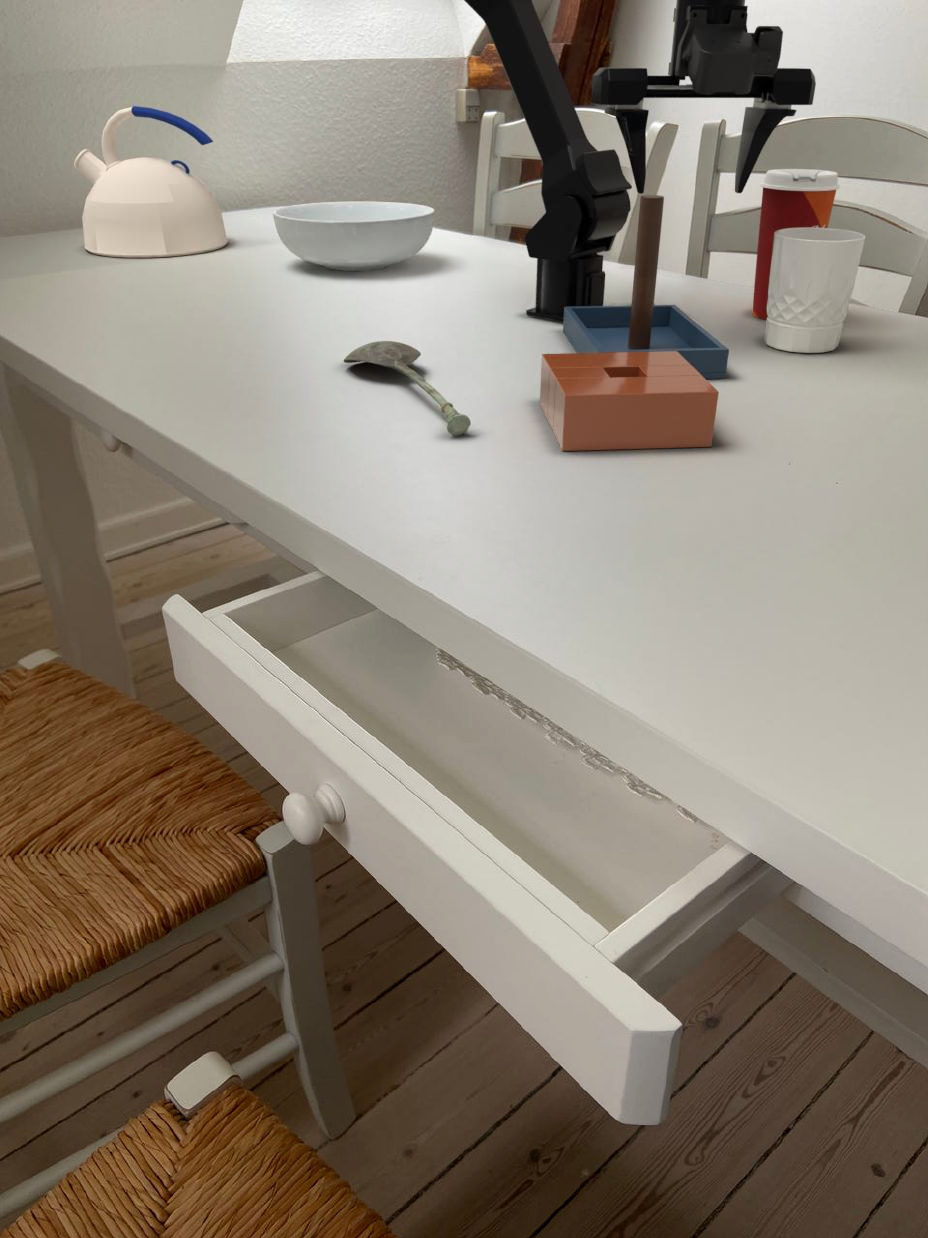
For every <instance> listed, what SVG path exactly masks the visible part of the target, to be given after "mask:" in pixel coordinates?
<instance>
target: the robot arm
mask: <svg viewBox="0 0 928 1238" xmlns="http://www.w3.org/2000/svg"><path fill="white" fill-rule="evenodd" d="M463 1H464V2H465V3H466V4H467V5H468V6H469V7H470V8H471V9H472V11H474V12H475V13H476V14H477V15H478V16H479V17H480V18H481V19H482V21H483V22H484V24H485V26H486V28H487V30H488V33H489V36H490V38H491V41H492V42H493V46H494V47H495V50H496V52H497V56H498V57H499V59H500V62H501V64H502V67H503V70H504V73H505V74H506V77H507V79H508V82H509V84H510V86H511V89H512V92H513V94H514V96H515V99H516V101H517V104H518V106H519V108H520V111H521V113H522V115H523V118H524V120H525V123H526V125H527V128H528V130H529V133H530V135H531V137H532V140H533V143H534V145H535V148H536V151H537V152H538V155H539V157H540V160H541V164H542V168H541V169H542V172H541V192H540V195H541V200H542V203H543V207H544V211H545V213H544V214H543V215H542V216H541V217H540V218H539V219H538V221H537V222H536V223H535V224H534V225H533V226H532V227H531V228H530V230H529V231H528V232H527V233H526V234H525V236H524V242H525V245H526V251H527V254H528V257H529V258H531V259H536V279H535V280H536V281H535V283H536V284H535V307H532V308H529V309H528V308H527V309H526V310H525V314H526V316H530V317H536V318H541V319H546V320H552V321H556V322H561V323H564V307H574V306H604V302H605V301H604V300H605V287H606V271H605V270H604V269H603V267H604V255H603V254H600V253H603V252H604V253H605V252H606V253H607V252H610V251H611V250H612V247H613V244H614V241H615V239H616V236H617V234H618V233H619V232H621V230H622V229H623V228H624V226H625V224H626V223H627V221H628V217H629V213H630V212H631V209H632V205H631V199H630V195H629V192H628V191H627V190H632V188H633V185H632V184H631V183H630V182H629V181H628V180H627V179H626V176H625V175H624V172H623V169H622V166H621V161H620V157H619V155H618V153H617V151H616V149H613V148H612V149H603V150H598V149H597V148H595V146H594V145H593V144H591V142H590V141H589V139H588V137H587V135H586V132H585V129H584V128H583V126H582V123H581V120H580V117H579V115H578V113H577V110H576V107H575V105H574V103H573V100H572V98H571V96H570V93H569V90H568V87H567V86H566V83H565V80H564V78H563V75H562V73H561V71H560V67H559V65H558V62H557V61H556V57H555V56H554V53H553V50H552V48H551V46H550V43H549V40H548V38H547V36H546V33H545V30H544V29H543V25H542V23H541V21H540V19H539V15H538V13H537V10H536V8H535V5H534V3H533V0H463ZM748 8H749V7H748V5H746V0H676V3H675V8H674V9H673V17H672V23H674V25H673V35H672V44H671V56H670V62H668V70H667V75H648V74H649V73H648V68H647V67H599V68H598V69H597V70H596V71H595V72H594V74H593V76H592V79H591V93H590V94H591V95H590V103H593V104H597V105H600V106H601V105H602V106H605V107H604V114H606V115H609V116H613V117H615V120H616V122H617V125H618V127H619V130H620V133H621V137H622V138H623V141H624V145H625V147H626V151H627V155H628V159H629V164H630V167H631V171H632V175H633V180H634V183H635V188H636V192H637V193H638V194H640V195H641V194H644V193H645V186H646V177H647V125H648V118H649V112H650V111H649V109H646V108H643V106H644V99H753V103H752V106H746V107H745V108H744V115H743V121H742V128H741V134H740V142H739V148H738V154H737V161H736V167H735V174H734V175H735V177H734V192H735V193H736V194H742V193H743V191H744V189H745V187H746V185H747V183H748V181H749V179H750V176H751V175H752V172H753V170H754V168H755V166H756V164H757V162H758V159H759V157H760V155H761V153H762V151H763V149H764V147H765V145H766V143H767V142H768V140H769V138H770V137H771V135H772V133H773V132H774V130H775V129H776V128H777V127H778V126H779V124H781V122H782V121H783V120H784V119H786V118H788V117H795V115H796V113H797V109H792V106H813V103H814V98H815V93H816V85H817V82H816V77H815V74H814V72H813V70H812V69H811V68H805V67H804V68H802V67H801V68H799V67H779V64H780V60H781V55H782V46H783V45H782V44H783V38H784V37H783V36H784V31H783V29H782V28H781V26H779V25H758V26H756V28H755V29H754V32H748V24H747V23H748ZM687 77H688V78H689V80H690V82H691V84H689V83H686V84H681V83H680V82H681V81H686V78H687Z"/></svg>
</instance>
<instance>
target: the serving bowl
mask: <svg viewBox="0 0 928 1238" xmlns="http://www.w3.org/2000/svg"><path fill="white" fill-rule="evenodd" d="M435 216H436V210H435V208H433V207H431V206H427V205H424V204H423V205H422V204H416V203H409V202H408V203H407V202H395V201H393V202H392V201H359V200H358V201H328V202H327V201H326V202H312V203H302V204H293V205H288V206H283V207H279V208H276V209H275V210H274V211H273V212H272V217H273V221H274V226H275V229H276V232H277V235H278V237H279V239H280V240H281V242H282V243H283V245H284V247H285V248H286V249H287V250H288V251H289V252H290V253H292V254H293V255H294V256H295V257H296V258H297V257H298V258H299V259H301V260H303V261H306V262H309V263H312V264H315V265H320V266H322V267H323V268H326V269H329V270H334V271H348V272H350V271H351V272H359V271H360V272H362V271H374V270H380V269H385V268H388V267H390V266H391V265H392V264H396V263H399V262H402V261H405V260H407V259H409V258H412V257H414V256H415V255H416V254H418V253H419V252H420V251H421V250H422V249H423V248H424V247H425V245H426V244H427V243H428V241H429V239H430V237H431V235H432V232H433V229H434V223H435Z"/></svg>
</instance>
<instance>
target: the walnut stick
mask: <svg viewBox="0 0 928 1238" xmlns="http://www.w3.org/2000/svg"><path fill="white" fill-rule="evenodd" d="M639 198H640V199H639V210H638V212H639V213H638V225H637V234H636V248H635V257H634V258H635V259H634V269H633V270H634V271H633V280H632V281H633V282H632V294H631V304H630V305H631V316H630V328H629V340H628V348H629V349H631V350H645V349H649V348H650V339H651V328H652V318H653V308H654V305H655V295H656V287H657V286H656V285H657V275H658V265H659V254H660V244H661V233H662V223H663V212H664V204H665V203H664V202H665V196H664V195H658V194H644V195H641V196H640V197H639Z"/></svg>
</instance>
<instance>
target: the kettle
mask: <svg viewBox="0 0 928 1238" xmlns="http://www.w3.org/2000/svg"><path fill="white" fill-rule="evenodd" d="M135 117H136V118H146V119H147V118H148V119H153V120H156V121H160V122H163V123H166V124H169V125H170V126H173V127H176V128H177V129H179V130H181V131H182V132H185V133H186V134H188V135H189V136H190V137H191V138H193V139H195V140H196V141H197V142H198V143H199V145H201V146H205V145H209V144H212V143H213V142H214V140H213V138H211V137H210V136H209V135H208V134H207V133H206V132H205V131H203V130H202V129H201V128H199V127H198V126H197V125H196V124H194V123H191V122H190V121H188V120H186V119H185V118H183V117H181V116H178V115H175V114H173V113H171V112H168V111H164V110H160V109H157V108H153V107H147V106H137V105H133V106H130V107H127V108H123V109H119V110H117V111H116V112H115V113H114V114H113V115H112V116H111V117H110V118H108V119H107V122H106V124H105V126H104V128H103V130H102V135H101V142H100V143H101V151H102V157H103V159H104V161H105V163H104V162H103V161H102V160H101V159H99V158H98V157H97V156H96V155H95V154H94V153H92V152H91V149H88V148H85V149H82V150H80V152H79V153H78V154H77V156H76V157H75V159H74V161H73V166H74V169H75V170H77V171H79V173H80V174H82V176H84V178H86V179H87V180H88V181H89V182H91V184H92V185H93V186H92V187H91V189H90V191H89V193H88V194H87V196H86V198H85V203H84V208H83V212H82V215H81V216H82V217H81V218H82V219H81V220H82V229H83V230H82V231H83V242H84V247H83V248H84V249H85V250H86V251H88V253H90V254H93V255H96V256H104V257H111V258H126V259H146V258H147V259H148V258H151V259H152V258H169V257H171V258H172V257H180V256H181V257H183V256H189V255H198V254H204V253H207V252H213V251H216V250H219V249H221V248H224V247H225V246H226V245H227V244H228V242H229V239H228V238H227V234H226V228H225V224H224V219H223V213H222V210H221V208H220V206H219V204H218V202H217V200H216V198H215V196H214V195H213V193H212V191H211V190H210V189H209V188H208V187H207V186H206V184H205V183H203V181H202V180H201V179H200V178H199V177H198V176H197V175H195V174H194V173H192V172H191V171H190V168H189V166H188V165H187V164H186V163H185V162H183V161H182V160H178V159H174V160H171V161H170V160H167V159H165V158H161V157H160V158H159V157H151V156H150V157H149V156H148V157H147V156H142V157H135V158H127V159H125V160H123V159H120V158H119V156H118V154H117V150H116V144H115V143H116V133H117V131H118V130H119V127H120V125H121V124H122V123H124V122H125V121H126V120H127V119H130V118H135Z"/></svg>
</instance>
